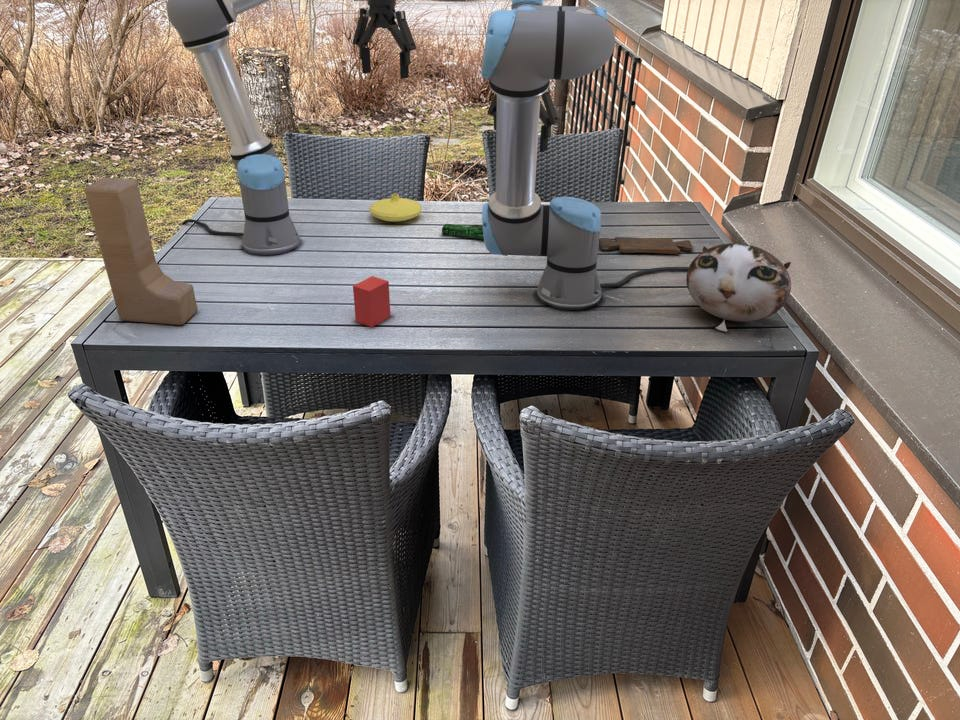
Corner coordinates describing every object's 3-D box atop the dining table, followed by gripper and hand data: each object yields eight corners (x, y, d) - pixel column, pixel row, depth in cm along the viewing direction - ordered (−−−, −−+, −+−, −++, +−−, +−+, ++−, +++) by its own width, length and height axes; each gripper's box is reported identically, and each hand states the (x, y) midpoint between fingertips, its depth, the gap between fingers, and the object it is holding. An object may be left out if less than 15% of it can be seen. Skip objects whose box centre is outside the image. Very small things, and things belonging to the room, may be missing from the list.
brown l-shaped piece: (183, 326, 156) (152, 191, 140) (118, 321, 157) (81, 187, 142) (199, 311, 162) (172, 180, 147) (137, 306, 164) (103, 176, 148)
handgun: (511, 219, 210) (493, 234, 198) (511, 228, 211) (492, 244, 199) (461, 212, 215) (440, 226, 203) (461, 221, 217) (440, 236, 204)
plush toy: (664, 307, 155) (693, 222, 157) (679, 329, 171) (705, 252, 172) (770, 332, 145) (800, 241, 146) (775, 353, 160) (802, 271, 162)
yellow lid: (393, 205, 227) (392, 183, 223) (432, 216, 219) (432, 193, 215) (359, 219, 216) (357, 196, 212) (398, 230, 208) (397, 207, 204)
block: (390, 316, 161) (388, 281, 157) (372, 327, 157) (369, 291, 152) (374, 311, 164) (372, 275, 159) (355, 321, 159) (352, 285, 155)
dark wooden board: (696, 256, 194) (688, 243, 203) (697, 250, 194) (689, 237, 202) (601, 253, 195) (597, 240, 203) (602, 247, 194) (598, 234, 202)
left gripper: (427, -10, 183) (429, 78, 194) (354, -15, 195) (360, 69, 205) (409, -9, 177) (412, 82, 188) (335, -13, 189) (342, 72, 200)
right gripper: (576, 64, 176) (569, 151, 187) (491, 55, 188) (489, 137, 199) (561, 68, 171) (555, 157, 182) (475, 58, 183) (474, 142, 193)
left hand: (385, 75), depth 197 cm, fingers open, 13 cm apart
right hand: (521, 147), depth 190 cm, fingers open, 13 cm apart
